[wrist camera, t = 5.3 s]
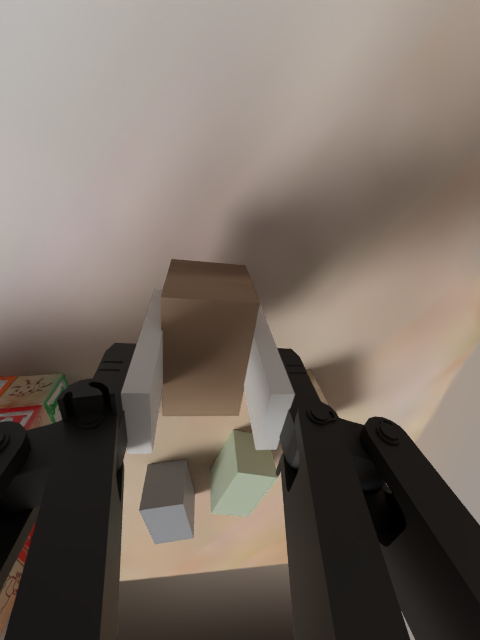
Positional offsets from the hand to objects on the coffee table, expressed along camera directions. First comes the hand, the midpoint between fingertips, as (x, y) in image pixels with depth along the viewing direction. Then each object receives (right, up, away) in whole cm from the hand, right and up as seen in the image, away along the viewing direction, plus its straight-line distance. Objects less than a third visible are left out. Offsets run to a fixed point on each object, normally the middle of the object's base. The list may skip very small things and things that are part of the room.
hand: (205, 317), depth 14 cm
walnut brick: (0, 0, +1) cm, 1 cm away
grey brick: (-5, -16, +13) cm, 21 cm away
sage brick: (+2, -13, +12) cm, 18 cm away
